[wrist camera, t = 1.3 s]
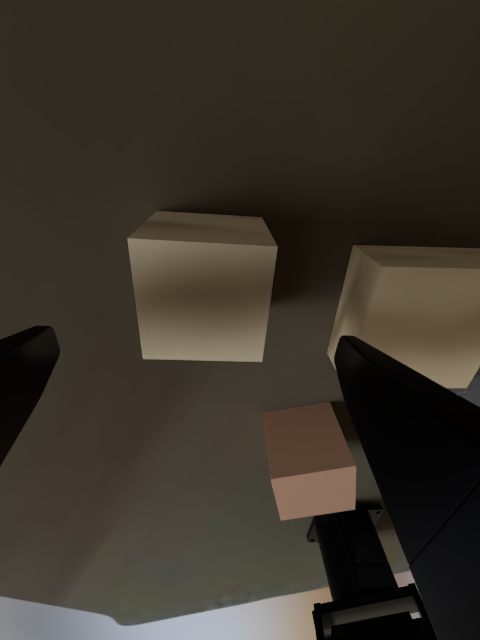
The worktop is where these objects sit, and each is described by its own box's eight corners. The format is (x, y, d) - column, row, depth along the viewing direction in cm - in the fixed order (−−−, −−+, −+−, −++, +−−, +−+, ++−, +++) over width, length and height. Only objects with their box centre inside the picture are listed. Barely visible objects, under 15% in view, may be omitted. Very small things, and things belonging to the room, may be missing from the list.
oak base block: (428, 350, 19) (466, 388, 16) (325, 350, 19) (345, 388, 16) (476, 246, 16) (536, 270, 13) (351, 243, 15) (382, 266, 12)
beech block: (252, 307, 17) (262, 361, 12) (164, 303, 16) (142, 358, 12) (261, 216, 14) (277, 246, 10) (157, 210, 14) (127, 238, 9)
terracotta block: (331, 443, 23) (355, 509, 19) (270, 453, 24) (280, 520, 19) (329, 400, 21) (356, 465, 17) (261, 412, 21) (270, 479, 17)
